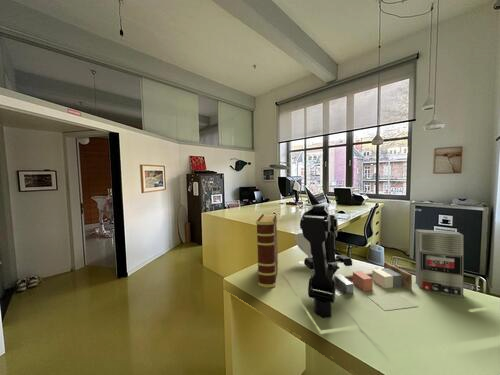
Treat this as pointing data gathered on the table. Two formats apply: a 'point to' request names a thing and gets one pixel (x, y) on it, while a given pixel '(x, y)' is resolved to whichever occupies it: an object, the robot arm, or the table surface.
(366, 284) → the salmon pink box
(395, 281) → the book
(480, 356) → the table surface
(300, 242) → the heart sculpture
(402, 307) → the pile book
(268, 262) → the decorative book
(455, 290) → the cassette tape recorder
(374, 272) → the cream rectangular block
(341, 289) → the bookend
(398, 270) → the shelf
